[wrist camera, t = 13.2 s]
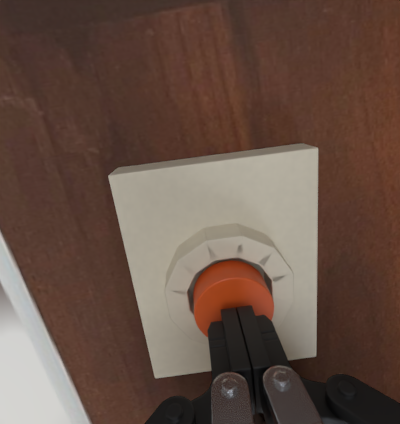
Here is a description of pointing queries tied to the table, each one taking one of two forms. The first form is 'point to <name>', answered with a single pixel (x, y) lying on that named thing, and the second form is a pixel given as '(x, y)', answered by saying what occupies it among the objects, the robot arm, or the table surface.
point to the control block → (220, 243)
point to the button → (229, 292)
